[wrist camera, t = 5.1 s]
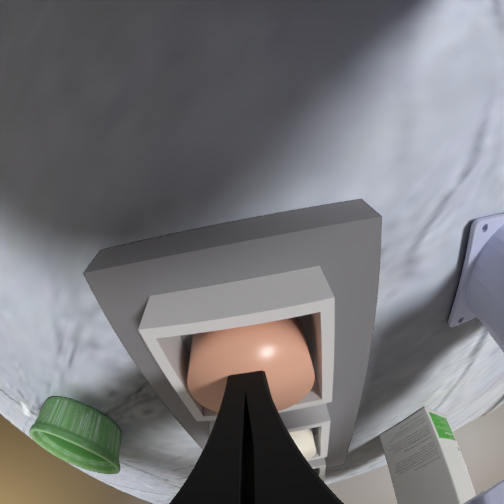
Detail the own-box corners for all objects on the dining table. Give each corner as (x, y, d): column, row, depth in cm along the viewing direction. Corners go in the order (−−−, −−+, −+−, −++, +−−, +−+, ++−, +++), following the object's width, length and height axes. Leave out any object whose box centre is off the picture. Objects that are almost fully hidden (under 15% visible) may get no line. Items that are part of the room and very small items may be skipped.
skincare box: (445, 414, 25) (484, 509, 12) (403, 441, 28) (433, 534, 14) (423, 404, 22) (470, 525, 9) (373, 436, 25) (406, 553, 11)
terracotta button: (299, 290, 11) (312, 333, 9) (306, 367, 14) (315, 405, 12) (177, 311, 11) (167, 355, 9) (209, 382, 14) (208, 421, 12)
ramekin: (73, 433, 23) (65, 464, 19) (26, 385, 18) (11, 421, 15) (141, 443, 23) (136, 479, 19) (97, 395, 18) (84, 441, 14)
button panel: (361, 198, 12) (407, 240, 8) (340, 449, 25) (347, 479, 22) (100, 250, 12) (62, 302, 9) (233, 466, 26) (234, 496, 22)
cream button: (309, 404, 16) (316, 437, 14) (310, 434, 18) (316, 461, 16) (228, 416, 16) (229, 449, 14) (244, 445, 18) (245, 472, 16)
